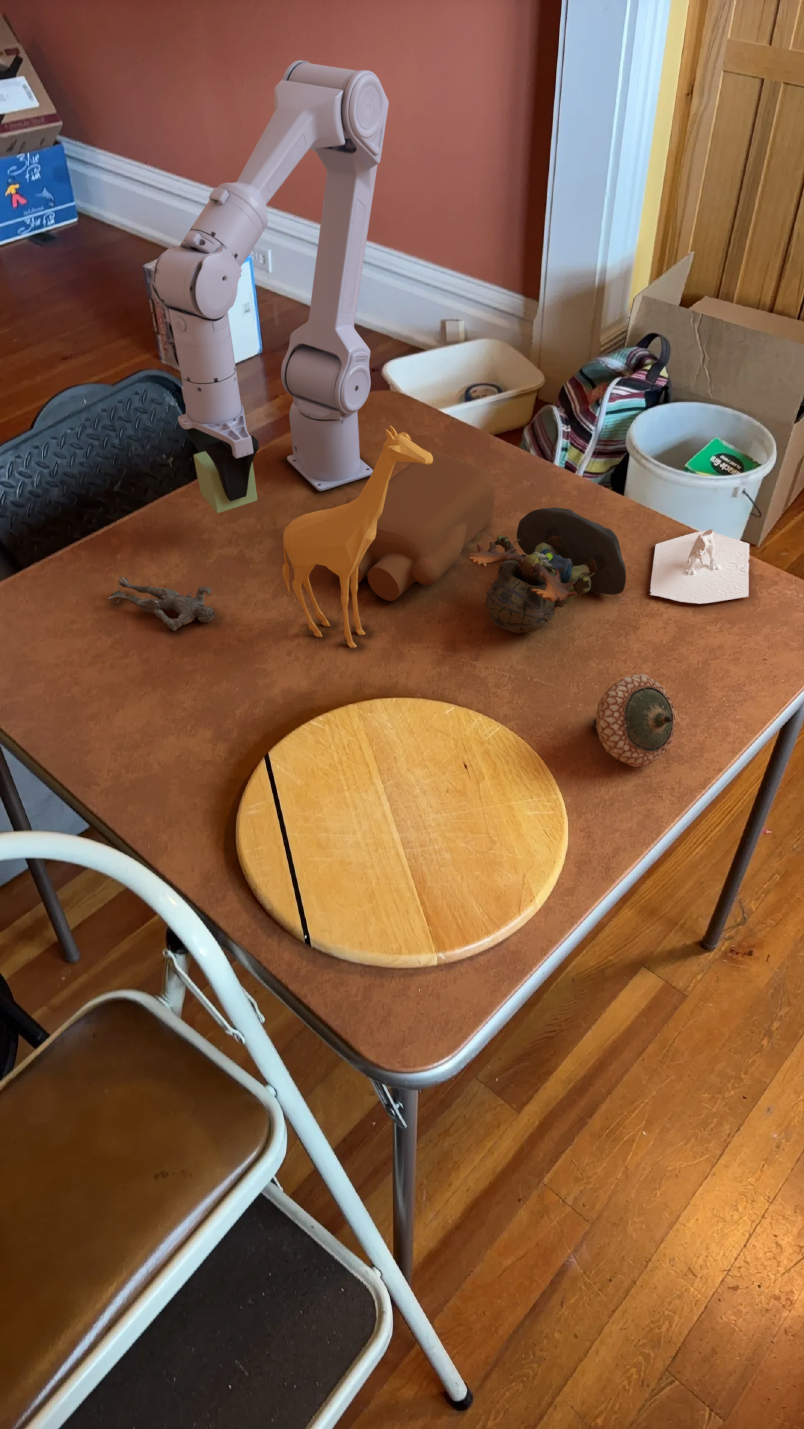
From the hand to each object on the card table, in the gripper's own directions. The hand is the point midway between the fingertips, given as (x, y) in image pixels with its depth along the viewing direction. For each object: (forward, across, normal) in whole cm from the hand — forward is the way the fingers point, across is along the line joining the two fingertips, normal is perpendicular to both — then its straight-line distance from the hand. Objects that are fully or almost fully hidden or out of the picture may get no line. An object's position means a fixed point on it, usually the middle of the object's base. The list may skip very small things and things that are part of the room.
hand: (227, 485), depth 112 cm
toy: (+7, +14, +17) cm, 23 cm away
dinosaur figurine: (+8, +34, +42) cm, 54 cm away
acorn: (+7, +47, +17) cm, 50 cm away
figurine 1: (+7, +9, -12) cm, 17 cm away
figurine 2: (+7, +29, +23) cm, 38 cm away
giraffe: (+7, +24, +3) cm, 25 cm away
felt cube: (+1, 0, 0) cm, 1 cm away
